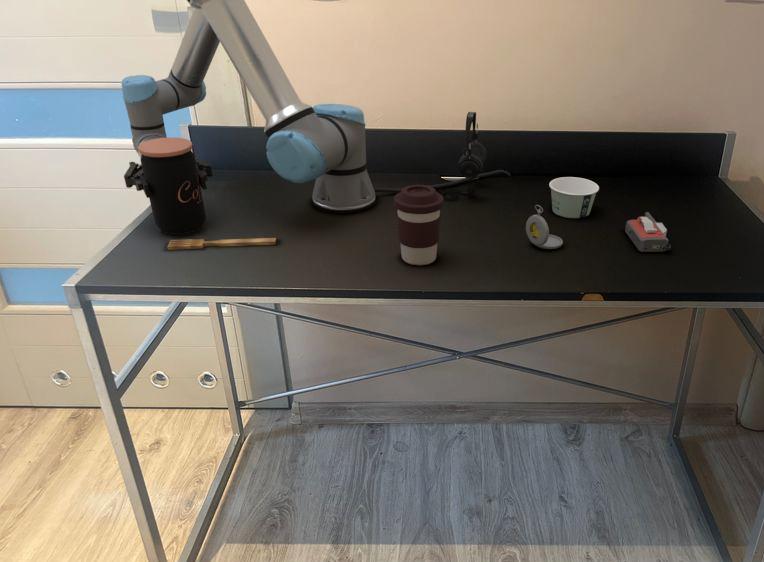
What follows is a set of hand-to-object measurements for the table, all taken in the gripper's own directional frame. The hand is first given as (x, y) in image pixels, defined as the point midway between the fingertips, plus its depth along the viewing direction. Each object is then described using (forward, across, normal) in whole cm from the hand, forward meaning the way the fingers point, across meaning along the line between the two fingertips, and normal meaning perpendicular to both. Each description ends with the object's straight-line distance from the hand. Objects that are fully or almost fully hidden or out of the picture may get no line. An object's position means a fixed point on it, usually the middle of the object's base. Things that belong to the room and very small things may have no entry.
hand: (176, 187), depth 147 cm
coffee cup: (+32, -41, -11) cm, 53 cm away
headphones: (+1, -68, -11) cm, 69 cm away
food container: (+24, -86, -11) cm, 91 cm away
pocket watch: (+38, -69, -11) cm, 79 cm away
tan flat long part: (+8, -6, -11) cm, 15 cm away
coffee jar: (-4, 0, -10) cm, 11 cm away
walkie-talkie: (+44, -93, -12) cm, 104 cm away
